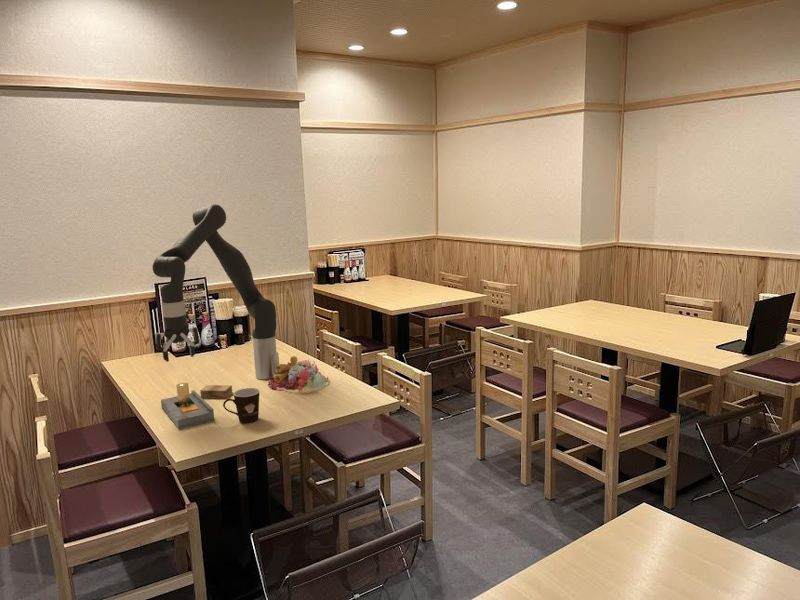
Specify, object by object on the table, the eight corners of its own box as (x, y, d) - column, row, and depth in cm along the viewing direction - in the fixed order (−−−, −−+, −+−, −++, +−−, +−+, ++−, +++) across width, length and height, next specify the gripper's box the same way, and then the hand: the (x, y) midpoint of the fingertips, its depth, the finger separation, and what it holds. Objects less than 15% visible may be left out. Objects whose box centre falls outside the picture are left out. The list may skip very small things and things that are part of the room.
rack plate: (214, 420, 207) (213, 409, 206) (178, 428, 201) (177, 417, 200) (194, 400, 227) (193, 390, 226) (161, 407, 220) (160, 397, 219)
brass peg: (192, 408, 218) (190, 382, 216) (187, 413, 214) (185, 386, 212) (182, 408, 219) (179, 382, 217) (177, 412, 215) (174, 386, 213)
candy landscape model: (257, 388, 239) (255, 366, 237) (293, 370, 259) (292, 350, 257) (308, 397, 227) (307, 373, 225) (342, 378, 248) (341, 356, 246)
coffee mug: (263, 414, 211) (261, 387, 209) (259, 424, 202) (256, 396, 200) (230, 416, 210) (227, 388, 208) (224, 426, 202) (221, 397, 200)
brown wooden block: (232, 392, 233) (231, 385, 233) (226, 398, 228) (225, 390, 227) (207, 392, 235) (207, 385, 234) (201, 397, 229) (200, 390, 228)
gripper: (192, 309, 216) (197, 352, 219) (150, 315, 208) (156, 360, 211) (198, 312, 210) (203, 357, 213) (155, 319, 202) (161, 365, 205)
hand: (179, 358), depth 212 cm, fingers open, 8 cm apart
